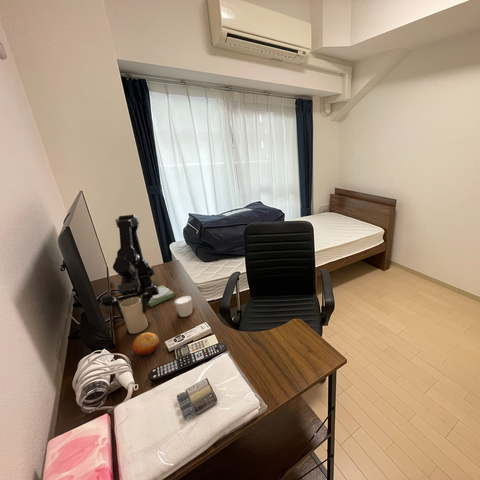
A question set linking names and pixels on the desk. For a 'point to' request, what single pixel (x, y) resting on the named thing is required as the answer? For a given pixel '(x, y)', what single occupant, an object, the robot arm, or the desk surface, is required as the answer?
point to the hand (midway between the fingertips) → (133, 315)
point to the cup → (134, 315)
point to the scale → (160, 296)
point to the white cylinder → (184, 306)
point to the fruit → (145, 343)
